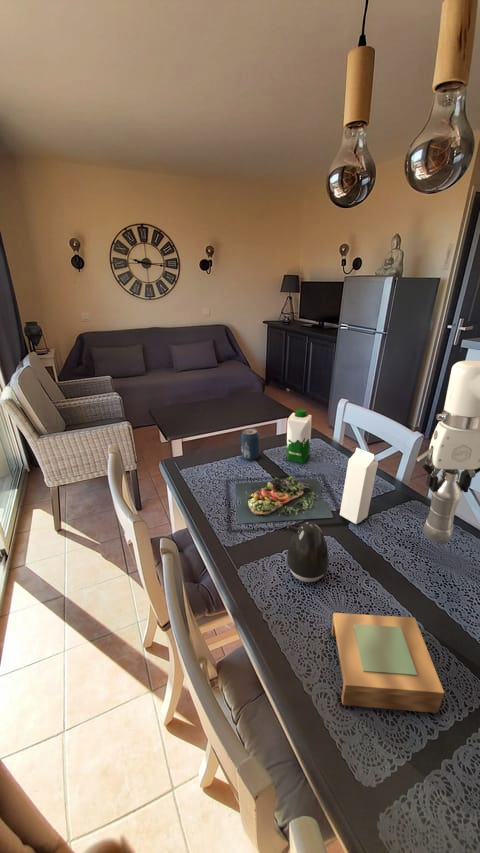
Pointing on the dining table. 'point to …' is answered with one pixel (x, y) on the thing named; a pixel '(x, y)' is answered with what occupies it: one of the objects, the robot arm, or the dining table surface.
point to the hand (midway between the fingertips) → (447, 488)
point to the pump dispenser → (307, 552)
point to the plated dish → (280, 501)
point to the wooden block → (385, 663)
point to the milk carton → (298, 436)
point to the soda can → (250, 444)
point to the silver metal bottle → (443, 507)
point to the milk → (358, 486)
